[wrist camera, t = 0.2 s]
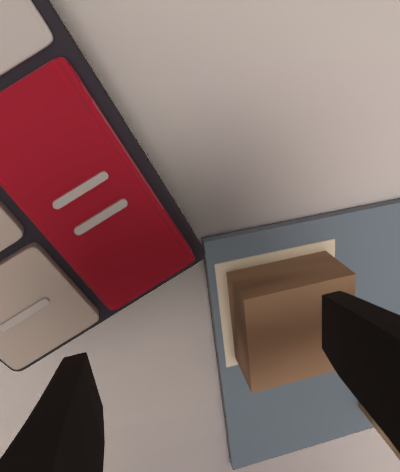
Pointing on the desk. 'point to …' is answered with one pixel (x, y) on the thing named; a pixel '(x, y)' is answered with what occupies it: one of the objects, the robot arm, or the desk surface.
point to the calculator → (71, 195)
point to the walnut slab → (283, 317)
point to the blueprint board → (317, 387)
